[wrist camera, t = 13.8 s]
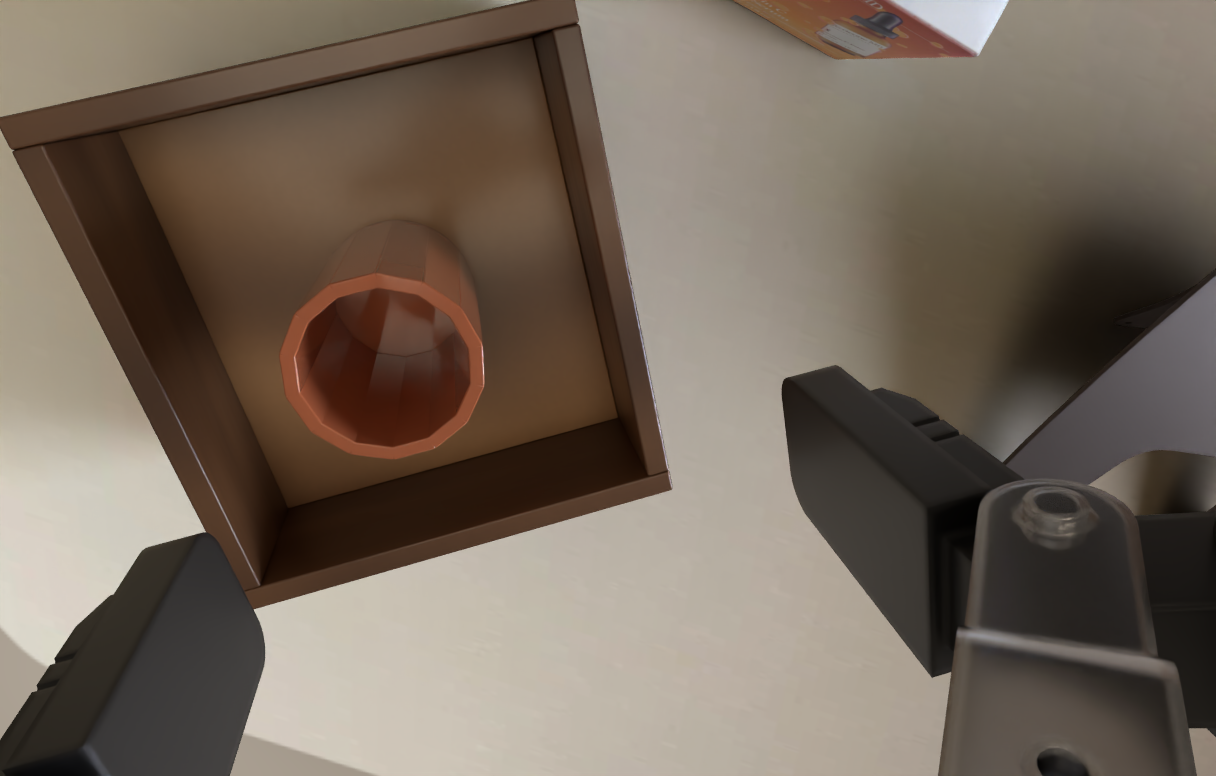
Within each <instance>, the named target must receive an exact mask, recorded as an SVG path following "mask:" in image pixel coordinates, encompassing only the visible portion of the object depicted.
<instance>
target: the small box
mask: <svg viewBox="0 0 1216 776" xmlns="http://www.w3.org/2000/svg"><path fill="white" fill-rule="evenodd" d="M733 1H735V2H737V3H739V4H740V5H742V6H744V7H746V8H748V9H749V10H751V11H753V12H755V13H756V14H758V15H760V16H762V17H763V18H765V19H767V20H768V21H770V22H772V23H773V24H775V25H777V26H778V27H780V28H782V29H784V30H785V31H787V32H789V33H790V34H792V35H794V36H796V37H798V38H799V39H801V40H803V41H805V42H806V43H808V44H810V45H812V46H813V47H815V48H817V49H818V50H820V51H822V52H824V53H825V54H827V55H829V56H830V57H832V58H834V59H883V58H937V57H976V56H978V55H979V53H980V51H981V50H982V48H983V46H984V44H985V42H986V40H987V39H988V37H989V35H990V34H991V32H992V30H993V28H994V27H995V25H996V23H997V21H998V19H999V18H1000V16H1001V14H1002V12H1003V10H1004V8H1005V7H1006V5H1007V3H1008V1H1009V0H733Z"/></svg>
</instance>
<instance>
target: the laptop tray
mask: <svg viewBox="0 0 1216 776" xmlns="http://www.w3.org/2000/svg"><path fill="white" fill-rule="evenodd" d="M1114 324H1116V325H1121V326H1129V327H1140V328H1147V329H1145V330H1144V331H1143V332H1142V333H1141V334H1140V335H1139V336H1137V337H1136V338H1135V339H1134V340H1133V341H1132V342H1131V343H1130V344H1129V345H1127V346H1126V347H1125V348H1124V349H1123V350H1122V351H1121V352H1120V353H1119V354H1117V355H1116V356H1115V357H1114V358H1113V359H1112V360H1111V361H1110V362H1109V363H1107V364H1106V365H1105V366H1104V367H1103V368H1102V369H1101V370H1100V371H1099V372H1098V373H1097V374H1095V375H1094V376H1093V377H1092V378H1091V379H1090V380H1089V381H1088V382H1087V383H1086V384H1085V385H1084V386H1082V387H1081V388H1080V389H1079V390H1078V391H1077V392H1076V393H1075V394H1074V395H1073V396H1072V397H1070V398H1069V399H1068V400H1067V401H1066V402H1065V403H1064V404H1063V405H1062V406H1061V407H1060V408H1059V409H1058V410H1056V411H1055V412H1054V413H1053V414H1052V415H1051V416H1050V417H1049V418H1048V419H1047V420H1046V421H1045V422H1044V423H1043V424H1042V425H1040V426H1039V427H1038V428H1037V429H1036V430H1035V431H1034V432H1033V433H1032V434H1031V435H1030V436H1029V437H1028V438H1027V439H1026V440H1025V441H1024V442H1023V443H1022V444H1021V445H1020V446H1019V447H1018V448H1017V449H1016V450H1015V451H1014V452H1013V453H1012V454H1011V455H1010V456H1009V457H1008V458H1007V459H1006V460H1005V461H1004V462H1003V464H1005V465H1006V466H1007V467H1009V468H1010V469H1011V470H1013V471H1014V472H1015V473H1017V474H1018V475H1019V476H1021V477H1022V478H1024V479H1025V480H1026V479H1040V478H1043V479H1060V480H1068V481H1073V482H1078V483H1082V484H1085V485H1089V484H1090V483H1092V482H1093V481H1095V480H1096V479H1098V478H1099V477H1100V476H1102V475H1103V474H1105V473H1106V472H1108V471H1109V470H1111V469H1112V468H1114V467H1115V466H1117V465H1118V464H1120V463H1121V462H1123V461H1125V460H1127V459H1129V458H1131V457H1133V456H1136V455H1138V454H1141V453H1144V452H1148V451H1154V450H1172V451H1180V452H1186V453H1193V454H1199V455H1205V456H1211V457H1216V269H1214V270H1213V271H1212V272H1211V273H1210V274H1209V275H1208V276H1206V277H1205V278H1204V279H1203V280H1202V281H1201V282H1199V283H1198V284H1197V285H1195V286H1193V287H1191V288H1189V289H1187V290H1185V291H1183V292H1181V293H1179V294H1177V295H1175V296H1173V297H1170V298H1168V299H1165V300H1163V301H1160V302H1158V303H1155V304H1153V305H1150V306H1147V307H1144V308H1141V309H1138V310H1135V311H1132V312H1129V313H1126V314H1123V315H1121V316H1118V317H1116V318H1114ZM1209 511H1216V505H1215V506H1214V507H1213V508H1211V509H1210V510H1209ZM1209 511H1207V512H1209Z"/></svg>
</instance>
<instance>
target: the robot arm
mask: <svg viewBox="0 0 1216 776" xmlns="http://www.w3.org/2000/svg"><path fill="white" fill-rule="evenodd" d="M782 402H783V411H784V419H785V428H786V436H787V445H788V454H789V462H790V471H791V477H792V482H793V485H794V489H795V492H796V495H797V498H798V500H799V502H800V505H801V507H802V509H803V510H804V512H805V514H806V515H807V517H808V518H809V519H810V520H811V522H812V523H813V524H814V526H815V527H816V528H817V530H818V531H819V532H820V533H821V535H822V536H823V537H824V539H825V540H826V541H827V542H828V544H829V545H830V546H831V548H832V549H833V550H834V552H835V553H836V554H837V555H838V557H839V558H840V559H841V561H842V562H843V563H844V564H845V566H846V567H847V568H848V570H849V571H850V572H851V574H852V575H853V576H854V577H855V579H856V580H857V581H858V583H859V584H860V585H861V586H862V588H863V589H864V590H865V592H866V593H867V594H868V596H869V597H870V598H871V599H872V601H873V602H874V603H875V605H876V606H877V607H878V608H879V610H880V611H881V612H882V614H883V615H884V616H885V618H886V619H887V620H888V621H889V623H890V624H891V625H892V627H893V628H894V629H895V630H896V632H897V633H898V634H899V636H900V637H901V638H902V640H903V641H904V642H905V643H906V645H907V646H908V647H909V649H910V650H911V651H912V652H913V654H914V655H915V656H916V658H917V659H918V660H919V661H920V663H921V664H922V665H923V667H924V668H925V669H926V671H927V672H928V673H929V674H930V676H931V677H932V678H933V677H936V676H939V675H942V674H946V673H949V672H951V679H950V687H949V695H948V703H947V710H946V718H945V726H944V734H943V741H942V749H941V757H940V765H939V772H938V776H1197V774H1196V768H1195V763H1194V757H1193V751H1192V746H1191V740H1190V734H1189V728H1207V729H1208V730H1209V731H1210V732H1211V733H1212V734H1213V735H1214V736H1215V737H1216V511H1209V512H1193V513H1176V514H1160V515H1138V516H1134V514H1133V513H1132V511H1131V510H1130V509H1129V508H1128V507H1127V506H1126V505H1125V504H1124V503H1123V502H1121V501H1120V500H1119V499H1117V498H1116V497H1114V496H1112V495H1110V494H1108V493H1107V492H1105V491H1102V490H1100V489H1097V488H1095V487H1092V486H1089V485H1085V484H1082V483H1078V482H1073V481H1068V480H1060V479H1043V478H1040V479H1026V480H1025V479H1024V478H1022V477H1021V476H1019V475H1018V474H1017V473H1015V472H1014V471H1013V470H1011V469H1010V468H1009V467H1007V466H1006V465H1005V464H1003V463H1002V462H1000V461H999V460H998V459H996V458H995V457H994V456H992V455H991V454H990V453H988V452H987V451H985V450H984V449H983V448H981V447H980V446H979V445H977V444H976V443H975V442H973V441H972V440H971V439H969V438H968V437H966V436H965V435H964V434H963V435H960V434H959V432H958V430H957V429H956V428H954V427H953V426H952V425H950V424H949V423H947V422H946V421H945V420H940V419H939V416H938V415H937V414H935V413H934V412H932V411H931V410H930V409H928V408H927V407H926V406H924V405H923V404H922V403H920V402H919V401H918V400H916V399H914V398H911V397H908V396H905V395H902V394H899V393H896V392H893V391H890V390H886V389H883V388H879V389H875V390H872V391H870V390H868V389H867V388H866V387H865V386H863V385H862V384H861V383H859V382H858V381H857V380H856V379H854V378H853V377H852V376H851V375H849V374H848V373H847V372H846V371H844V370H843V369H842V368H841V367H839V366H836V365H834V366H830V367H826V368H822V369H818V370H815V371H811V372H807V373H803V374H800V375H796V376H792V377H788V378H786V379H784V381H783V384H782ZM264 662H265V643H264V636H263V632H262V628H261V625H260V622H259V620H258V618H257V616H256V614H255V612H254V610H253V608H252V606H251V604H250V602H249V600H248V598H247V596H246V594H245V592H244V590H243V588H242V586H241V584H240V582H239V580H238V578H237V576H236V574H235V572H234V570H233V569H232V567H231V565H230V563H229V561H228V559H227V557H226V555H225V553H224V551H223V549H222V547H221V545H220V543H219V542H218V541H217V539H216V538H215V537H214V536H212V535H211V534H209V533H204V532H203V533H199V534H196V535H192V536H188V537H184V538H181V539H177V540H173V541H169V542H166V543H162V544H158V545H155V546H151V547H148V548H145V549H144V550H142V552H141V553H140V554H139V556H138V557H137V559H136V560H135V562H134V564H133V565H132V567H131V568H130V570H129V571H128V573H127V575H126V576H125V578H124V579H123V581H122V582H121V584H120V586H119V587H118V589H117V590H116V592H115V593H114V595H110V596H109V597H108V598H107V599H106V600H105V601H104V602H102V603H101V604H100V605H99V606H98V607H97V608H96V609H95V610H94V611H93V612H91V613H90V614H89V615H88V616H87V617H86V618H85V619H84V620H83V621H82V622H80V623H79V624H78V625H77V626H76V627H75V629H74V630H73V632H72V633H71V635H70V636H69V638H68V639H67V641H66V642H65V644H64V645H63V647H62V648H61V650H60V651H59V653H58V654H57V656H56V657H55V664H52V665H50V666H49V668H48V669H47V671H46V672H45V674H44V675H43V677H42V678H41V680H40V681H39V683H38V684H37V688H38V690H37V691H36V692H32V693H31V695H30V696H29V698H28V699H27V701H26V702H25V704H24V705H23V707H22V708H21V710H20V711H19V713H18V714H17V715H16V717H15V719H14V720H13V722H12V724H11V725H10V726H9V727H8V729H7V730H6V732H5V733H4V735H3V736H2V738H1V740H0V776H230V773H231V770H232V767H233V763H234V760H235V757H236V754H237V750H238V748H239V744H240V741H241V738H242V735H243V732H244V729H245V725H246V722H247V719H248V716H249V713H250V709H251V706H252V703H253V700H254V697H255V693H256V690H257V687H258V684H259V681H260V678H261V674H262V671H263V668H264Z"/></svg>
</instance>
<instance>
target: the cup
mask: <svg viewBox="0 0 1216 776" xmlns="http://www.w3.org/2000/svg"><path fill="white" fill-rule="evenodd" d="M279 361H280V367H281V374H282V380H283V387H284V393H285V396H286V399H287V400H288V401H289V403H290V404H291V406H292V407H293V408H294V410H295V411H296V412H297V414H298V415H299V416H300V418H301V419H302V421H303V422H304V423H305V425H306V426H307V427H308V429H309V430H310V431H312V433H313V434H315V435H317V436H319V437H320V438H322V439H324V440H326V441H327V442H329V443H331V444H333V445H334V446H336V447H338V448H340V449H341V450H343V451H345V452H347V453H349V454H352V455H360V456H368V457H376V458H384V459H398V458H402V457H406V456H409V455H413V454H417V453H420V452H424V451H428V450H431V449H434V448H436V447H438V446H439V445H440V444H442V443H443V442H444V441H445V440H447V439H448V438H449V437H450V436H451V435H453V434H454V433H455V432H456V431H458V430H459V429H460V428H461V427H463V426H464V425H465V424H466V423H467V422H468V421H469V419H470V417H471V414H472V412H473V410H474V408H475V406H476V404H477V402H478V399H479V397H480V395H481V393H482V391H483V389H484V385H485V378H484V357H483V342H482V334H481V326H480V318H479V310H478V302H477V294H476V286H475V279H474V276H473V275H472V273H471V270H470V267H469V265H468V263H467V261H466V259H465V257H464V256H463V254H462V253H461V252H460V250H459V249H458V248H457V247H456V246H455V244H454V243H453V242H452V241H450V240H449V239H448V238H447V237H446V236H444V235H443V234H441V233H440V232H438V231H437V230H435V229H433V228H431V227H429V226H426V225H423V224H421V223H417V222H413V221H407V220H386V221H380V222H376V223H373V224H370V225H367V226H365V227H363V228H361V229H359V230H357V231H356V232H354V233H353V234H351V235H350V236H349V237H348V238H347V239H346V240H344V242H343V243H342V244H341V245H340V246H339V247H338V248H337V249H336V250H334V252H333V253H332V255H331V256H330V258H329V259H328V261H327V263H326V264H325V266H324V267H323V269H322V271H321V272H320V274H319V275H318V277H317V278H316V280H315V282H314V283H313V285H312V286H311V288H310V289H309V291H308V293H307V294H306V296H305V297H304V299H303V301H302V302H301V304H300V305H299V307H298V308H297V310H296V312H295V313H294V315H293V317H292V320H291V323H290V325H289V328H288V330H287V333H286V336H285V338H284V341H283V344H282V346H281V349H280V352H279Z"/></svg>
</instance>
